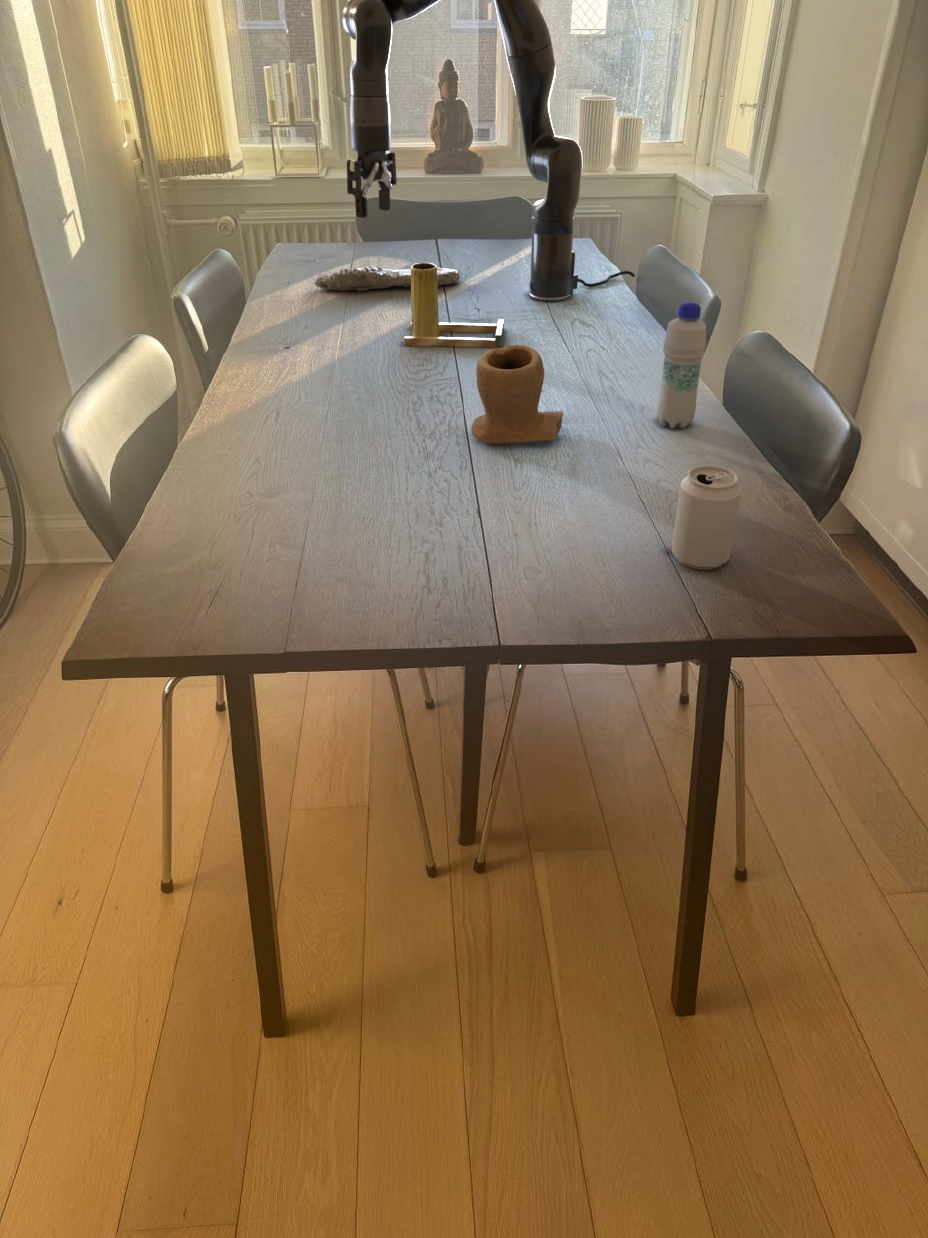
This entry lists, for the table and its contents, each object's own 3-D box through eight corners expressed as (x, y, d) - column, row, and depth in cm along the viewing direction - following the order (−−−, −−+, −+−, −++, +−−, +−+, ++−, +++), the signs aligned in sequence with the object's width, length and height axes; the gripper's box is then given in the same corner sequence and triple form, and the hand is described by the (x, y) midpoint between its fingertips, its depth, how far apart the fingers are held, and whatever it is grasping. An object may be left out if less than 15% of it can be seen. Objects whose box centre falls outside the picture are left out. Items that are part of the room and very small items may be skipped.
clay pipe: (471, 455, 149) (471, 362, 141) (471, 424, 159) (471, 336, 151) (567, 455, 149) (573, 362, 141) (561, 424, 159) (566, 335, 150)
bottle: (697, 418, 161) (714, 298, 150) (691, 433, 156) (709, 311, 144) (657, 413, 163) (671, 295, 151) (650, 428, 158) (665, 306, 146)
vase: (442, 332, 198) (440, 262, 190) (438, 342, 193) (437, 270, 185) (413, 331, 199) (410, 261, 191) (408, 341, 194) (406, 269, 186)
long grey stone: (463, 293, 226) (456, 284, 234) (464, 270, 223) (457, 261, 232) (314, 292, 220) (313, 283, 228) (313, 269, 217) (312, 260, 226)
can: (664, 544, 126) (675, 462, 120) (719, 541, 127) (733, 459, 120) (679, 574, 120) (692, 489, 113) (737, 571, 121) (753, 486, 114)
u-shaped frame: (404, 345, 192) (404, 332, 191) (411, 328, 201) (410, 316, 199) (501, 347, 191) (501, 335, 189) (503, 331, 199) (504, 319, 198)
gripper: (366, 127, 173) (370, 222, 182) (406, 119, 183) (408, 209, 193) (332, 124, 176) (337, 217, 185) (373, 116, 186) (376, 205, 195)
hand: (373, 213), depth 189 cm, fingers open, 8 cm apart
